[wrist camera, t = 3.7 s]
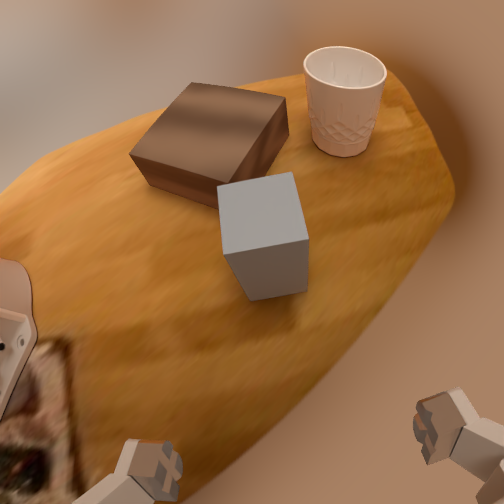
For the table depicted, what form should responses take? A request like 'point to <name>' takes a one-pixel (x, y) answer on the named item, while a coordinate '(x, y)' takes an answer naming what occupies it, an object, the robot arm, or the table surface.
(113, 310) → the table surface
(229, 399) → the table surface
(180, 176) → the walnut box
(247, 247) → the slate block
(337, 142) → the white cup
